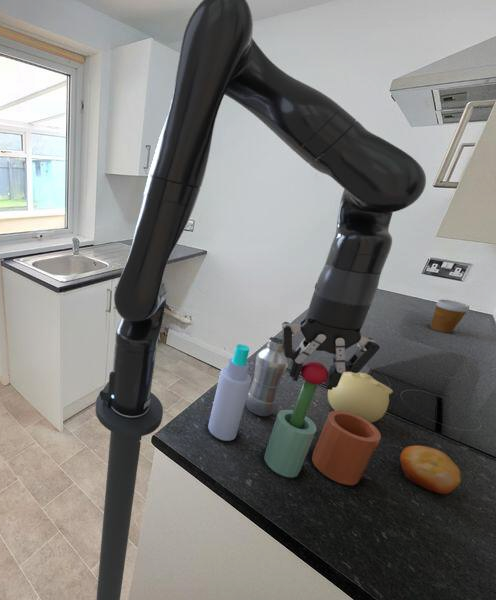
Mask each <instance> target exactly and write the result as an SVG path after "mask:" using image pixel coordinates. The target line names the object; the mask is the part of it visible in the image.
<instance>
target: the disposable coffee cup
mask: <svg viewBox="0 0 496 600" xmlns="http://www.w3.org/2000/svg"><path fill="white" fill-rule="evenodd" d="M468 312H470V305H469V304H466V303H462V302H458V301H456V300H449V299H439V300H438V301H436V302H435V309H434V313H433V317H432V320H431V323H430V328H431V329H432V330H435V331H437V332H441V333H448V334H452V332H453V331H454V329H455V328H456V327H457V326H458V324H459V323H460V322H461V321H462V320H463V318H464V316H465V315H466V314H467V313H468Z"/></svg>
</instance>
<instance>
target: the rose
mask: <svg viewBox="0 0 496 600" xmlns="http://www.w3.org/2000/svg"><path fill="white" fill-rule="evenodd" d="M328 371H329V370H328V369H327V367H326V366H325V365H324V364H323V363H321V362H318V361H314V360H313V361H308V362H305V363H304V364H303V366H302V369H301V372H300V374H301V377H302V378H303V380H304V381H303V382H302V386H301V389H300V392H299V395H298V397H297V400H296V403H295V405H294V409H293V410H292V411H293V414H292V417H291V420H290V423H289V424H290V425H292V426H294V427H296V428H299V429H301V427H302V425H303V422H304V419H305V417H306V416H307V413H308V411H309V409H310V406H311V403H312V400H313V398H314V395H315V393H316V389H317V387H318V385H321V384H324V382H325V381H326V380H327V378H328Z"/></svg>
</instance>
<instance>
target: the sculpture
mask: <svg viewBox="0 0 496 600" xmlns="http://www.w3.org/2000/svg"><path fill="white" fill-rule="evenodd" d="M393 392H394V391H393V389H391V388H390V387H389V386H387V385H386V384H384V383H382V382H380V381H378V380H376V379H375V378H373V376H372V375H370V374H368V373H365V372H358V373H353V372H344V373H343V374H342V376H341V379H340V381H339V384H338V386H337V387H336V388H334V387H333V388H332V390H329V389H327V401H328V403H329V405H330V407H331V408H332V409H333V411H345V412H349V413H352V414H355V415H358V416H360V417H362V418H364V419H365V420H367V421H368V422H370V423H371V424H373V423H376V422H377V421H379V420H381V419H382V418H383V417H384V416H385V414H386V413H387V410H388V408H389V403H390V395H391V394H393Z"/></svg>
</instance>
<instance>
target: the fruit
mask: <svg viewBox="0 0 496 600" xmlns="http://www.w3.org/2000/svg"><path fill="white" fill-rule="evenodd" d="M399 462H400V465H401V468H402V470H403V474H404V476H405V478H406V479H407V480H408V481H410V482H411V483H413V484H415V485H417V486H418V487H421V488H423V489H426V490H427V491H430V492H433V493H435V494H441V495H442V494H443V495H447V494H450V493H451V492H452V491H453V490H455V489H456V488H457V487H458V486H459V485H460V484H461V482H462V478H461V469H460V468H459V466H457V465H456V464H455V463H454V461H453V460H452V459H451V458H450V456H448V455H447V454H446V453H445V452H443V451H441V450H439V449H437V448H433V447H431V446H430V447H429V446H426V445H417V444H416V445H409V446H407V447H405V448H403V449H402V451H401V453H400V456H399Z"/></svg>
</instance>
